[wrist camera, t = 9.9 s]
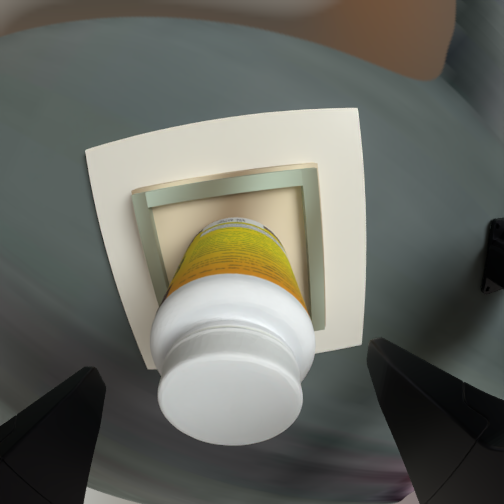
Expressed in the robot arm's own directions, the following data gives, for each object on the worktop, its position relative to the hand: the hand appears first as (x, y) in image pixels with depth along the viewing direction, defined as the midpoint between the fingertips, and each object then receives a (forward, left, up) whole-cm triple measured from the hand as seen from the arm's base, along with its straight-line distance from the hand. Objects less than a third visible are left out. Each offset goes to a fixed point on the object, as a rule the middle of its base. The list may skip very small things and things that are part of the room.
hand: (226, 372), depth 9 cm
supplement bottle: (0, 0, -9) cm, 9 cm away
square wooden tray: (0, 0, -10) cm, 10 cm away
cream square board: (0, 0, -10) cm, 10 cm away
